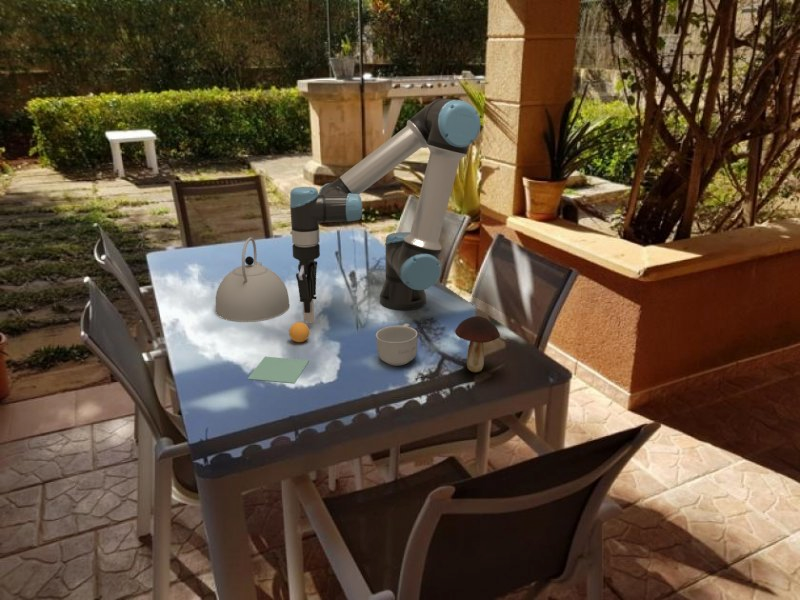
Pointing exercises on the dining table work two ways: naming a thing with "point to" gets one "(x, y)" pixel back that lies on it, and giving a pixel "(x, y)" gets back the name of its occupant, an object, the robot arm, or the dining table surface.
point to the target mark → (278, 369)
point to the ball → (299, 332)
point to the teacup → (397, 344)
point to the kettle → (251, 292)
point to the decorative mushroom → (476, 339)
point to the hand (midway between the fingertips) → (309, 321)
